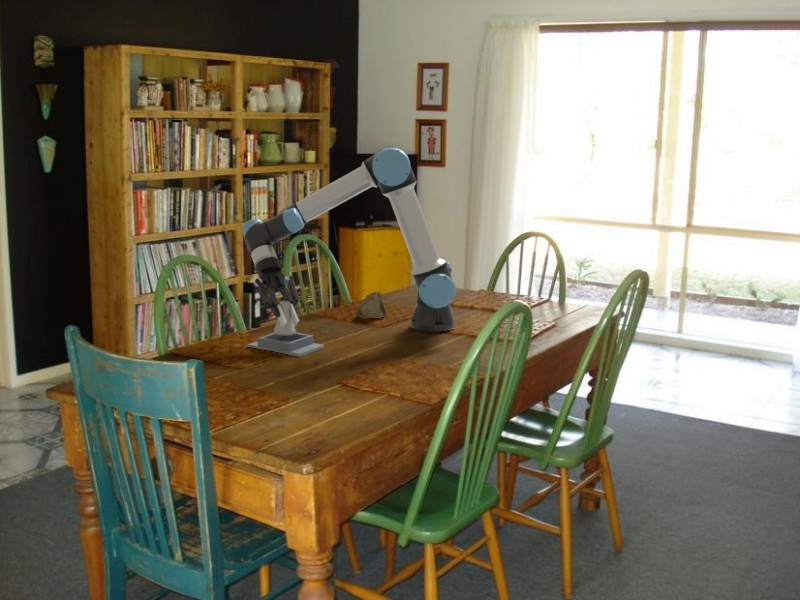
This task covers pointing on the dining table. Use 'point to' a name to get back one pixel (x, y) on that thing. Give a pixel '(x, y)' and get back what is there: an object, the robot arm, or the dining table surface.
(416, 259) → the robot arm
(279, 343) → the caddy board
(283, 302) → the flask
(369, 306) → the rock
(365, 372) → the dining table surface
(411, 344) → the dining table surface
